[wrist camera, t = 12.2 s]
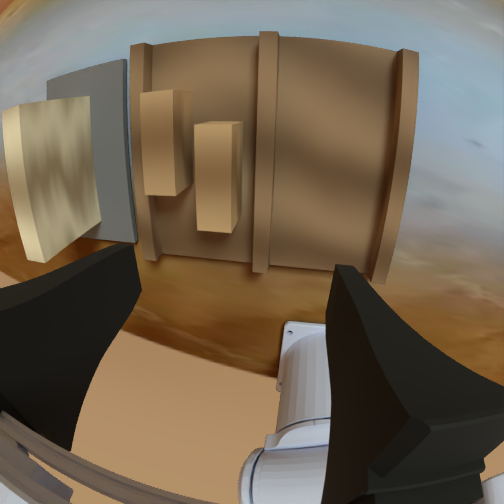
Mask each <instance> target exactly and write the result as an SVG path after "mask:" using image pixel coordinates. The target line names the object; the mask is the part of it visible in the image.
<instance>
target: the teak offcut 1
mask: <svg viewBox="0 0 504 504" xmlns="http://www.w3.org/2000/svg"><path fill="white" fill-rule="evenodd" d="M140 122H141V146H142V163H143V177H144V189H145V195H160V196H177V195H178V194H179V193H180V192H182V191H183V190H184V189H186V188H187V187H188V186H190V185H191V184H192V183H194V182H193V142H192V91H186V90H174V89H172V90H162V91H153V92H145V93H140Z"/></svg>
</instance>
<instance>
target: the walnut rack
mask: <svg viewBox="0 0 504 504" xmlns="http://www.w3.org/2000/svg"><path fill="white" fill-rule="evenodd" d="M418 79H419V53H418V52H415V51H411V50H407V49H401V50H399V51H397V52H396V51H392V50H387V49H382V48H377V47H372V46H367V45H361V44H355V43H348V42H341V41H333V40H324V39H314V38H301V37H282V36H279V33H278V32H272V31H260V32H259V36H238V37H218V38H205V39H195V40H186V41H178V42H171V43H164V44H158V45H150V44H147V43H140V44H135V45H131V46H130V131H131V150H132V165H133V177H134V188H135V198H136V207H137V215H138V223H139V231H140V238H141V245H142V252H143V258H144V260H151V261H156V260H157V259H158V258H159V257H160V256H161V254H162V253H164V254H173V255H182V256H191V257H201V258H210V259H220V260H229V261H239V262H249V263H253V270H252V272H257V273H267V274H268V269H269V265H279V266H289V267H299V268H309V269H320V270H330V271H334V269H335V264H341V265H352V266H354V267H355V268H356V269H357V270H358V272H359V273H363V274H368V275H369V278H370V282H371V283H373V284H385V282H386V278H387V274H388V271H389V267H390V263H391V259H392V256H393V252H394V248H395V243H396V239H397V235H398V230H399V226H400V221H401V216H402V212H403V207H404V201H405V196H406V190H407V185H408V179H409V172H410V166H411V159H412V151H413V143H414V134H415V124H416V113H417V99H418ZM172 89H174V90H186V91H192V142H193V182H194V183H192V184H191V185H190V186H188V187H187V188H186V189H184V190H183V191H182V192H180V193H179V194H178V195H177V196H160V195H145V189H144V177H143V163H142V146H141V122H140V93H145V92H153V91H162V90H172ZM210 121H235V122H243V151H242V214H241V216H240V218H239V220H238V222H237V224H236V225H235V227H234V229H233V231H232V233H224V232H212V231H200V230H197V213H196V188H195V151H194V125H195V124H200V123H205V122H210Z"/></svg>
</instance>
